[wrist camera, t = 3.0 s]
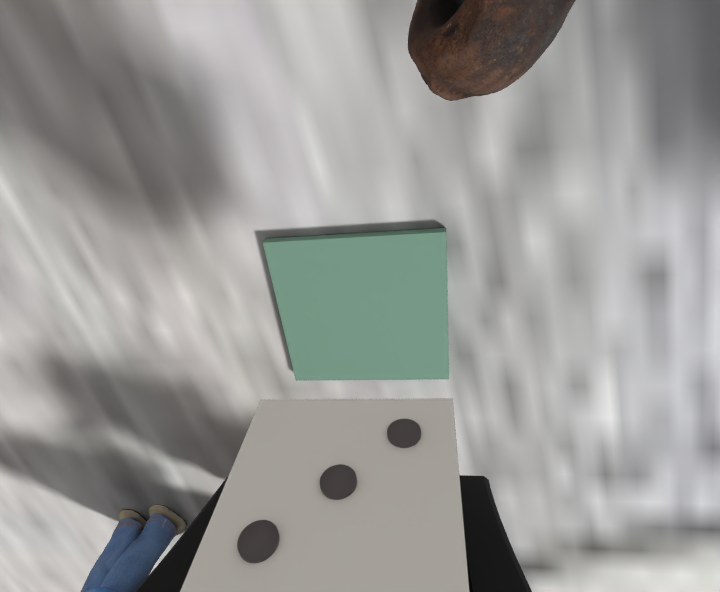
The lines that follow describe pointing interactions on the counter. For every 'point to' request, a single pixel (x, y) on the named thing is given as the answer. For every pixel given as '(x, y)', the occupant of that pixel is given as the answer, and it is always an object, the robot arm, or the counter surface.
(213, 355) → the counter surface
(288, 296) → the felt mat
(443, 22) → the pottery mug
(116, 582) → the doll family
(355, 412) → the die
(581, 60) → the counter surface
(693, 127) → the counter surface
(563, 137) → the counter surface
